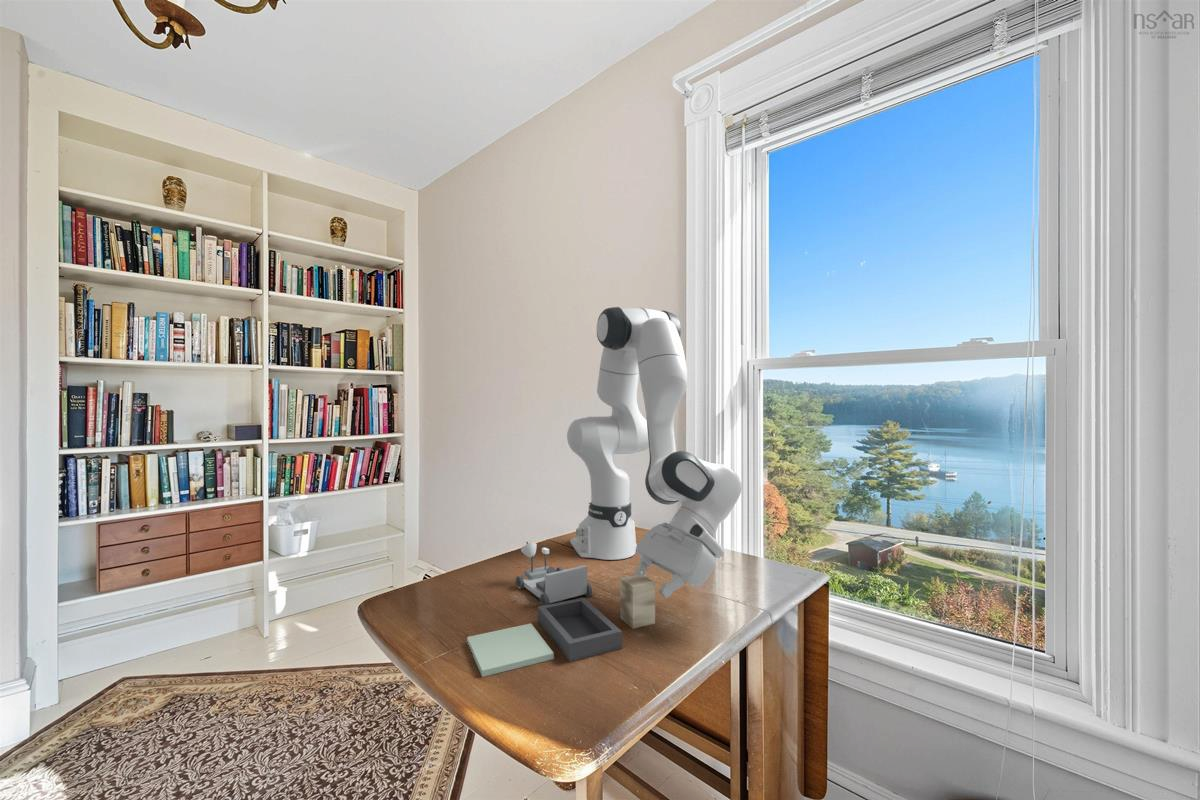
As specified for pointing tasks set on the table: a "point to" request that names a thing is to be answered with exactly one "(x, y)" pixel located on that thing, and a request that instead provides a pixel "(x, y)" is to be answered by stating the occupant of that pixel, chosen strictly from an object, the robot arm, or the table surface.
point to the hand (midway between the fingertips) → (649, 586)
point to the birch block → (637, 601)
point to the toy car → (553, 580)
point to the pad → (508, 649)
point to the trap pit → (579, 629)
